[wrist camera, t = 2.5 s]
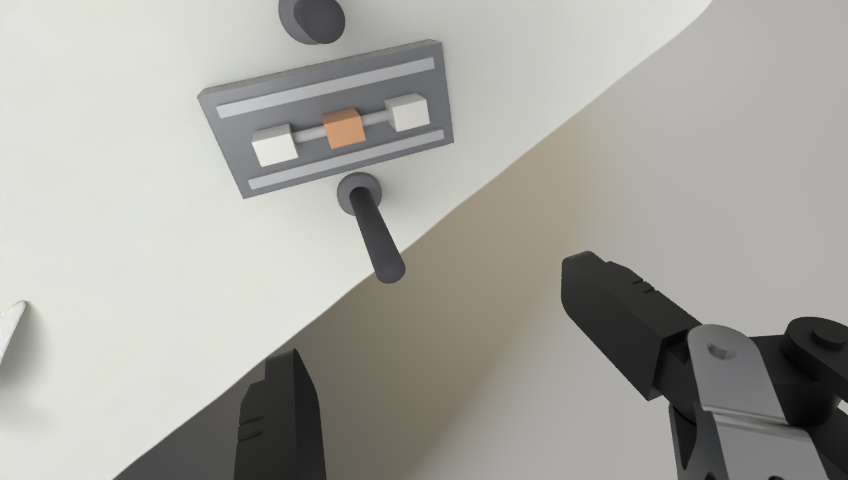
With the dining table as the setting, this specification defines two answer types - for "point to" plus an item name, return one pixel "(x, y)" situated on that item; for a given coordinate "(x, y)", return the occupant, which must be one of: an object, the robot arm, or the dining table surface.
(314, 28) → the dark grey cylinder
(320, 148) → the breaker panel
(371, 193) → the dark grey lever handle
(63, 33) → the dining table surface
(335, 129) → the white and orange bar
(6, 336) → the pear ornament
